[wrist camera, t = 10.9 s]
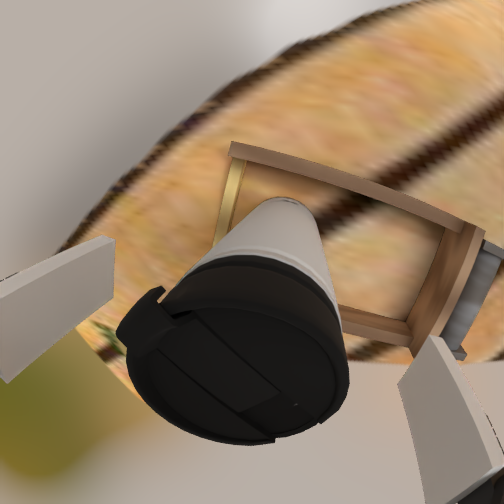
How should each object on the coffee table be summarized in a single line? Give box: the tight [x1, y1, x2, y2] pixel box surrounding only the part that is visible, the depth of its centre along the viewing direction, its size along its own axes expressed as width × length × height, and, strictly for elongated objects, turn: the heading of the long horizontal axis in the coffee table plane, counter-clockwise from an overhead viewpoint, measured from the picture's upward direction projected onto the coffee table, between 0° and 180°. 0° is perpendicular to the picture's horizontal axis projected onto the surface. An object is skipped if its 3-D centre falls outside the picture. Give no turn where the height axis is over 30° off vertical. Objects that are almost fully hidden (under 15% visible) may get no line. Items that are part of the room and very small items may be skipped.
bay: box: [212, 141, 504, 361], centre depth 22 cm, size 13×27×5 cm, turn 76°
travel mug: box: [116, 197, 350, 446], centre depth 16 cm, size 6×7×20 cm
